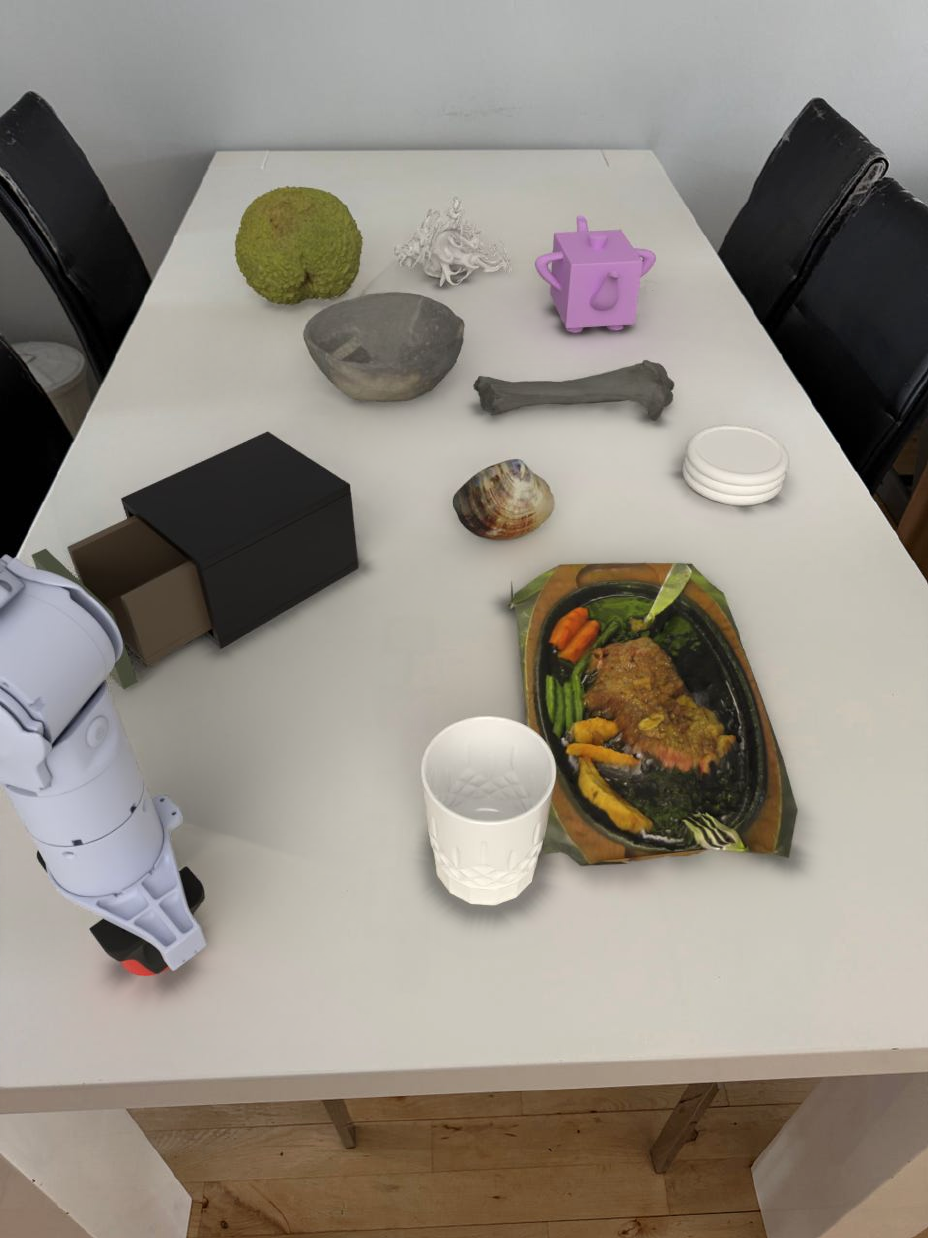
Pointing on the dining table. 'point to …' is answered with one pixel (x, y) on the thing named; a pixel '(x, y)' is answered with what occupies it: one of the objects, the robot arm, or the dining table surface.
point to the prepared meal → (648, 716)
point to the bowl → (385, 345)
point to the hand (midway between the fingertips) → (148, 933)
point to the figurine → (448, 247)
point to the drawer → (137, 590)
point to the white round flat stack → (735, 465)
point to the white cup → (487, 806)
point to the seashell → (504, 501)
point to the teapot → (594, 277)
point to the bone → (582, 390)
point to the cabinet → (254, 530)
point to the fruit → (298, 245)
